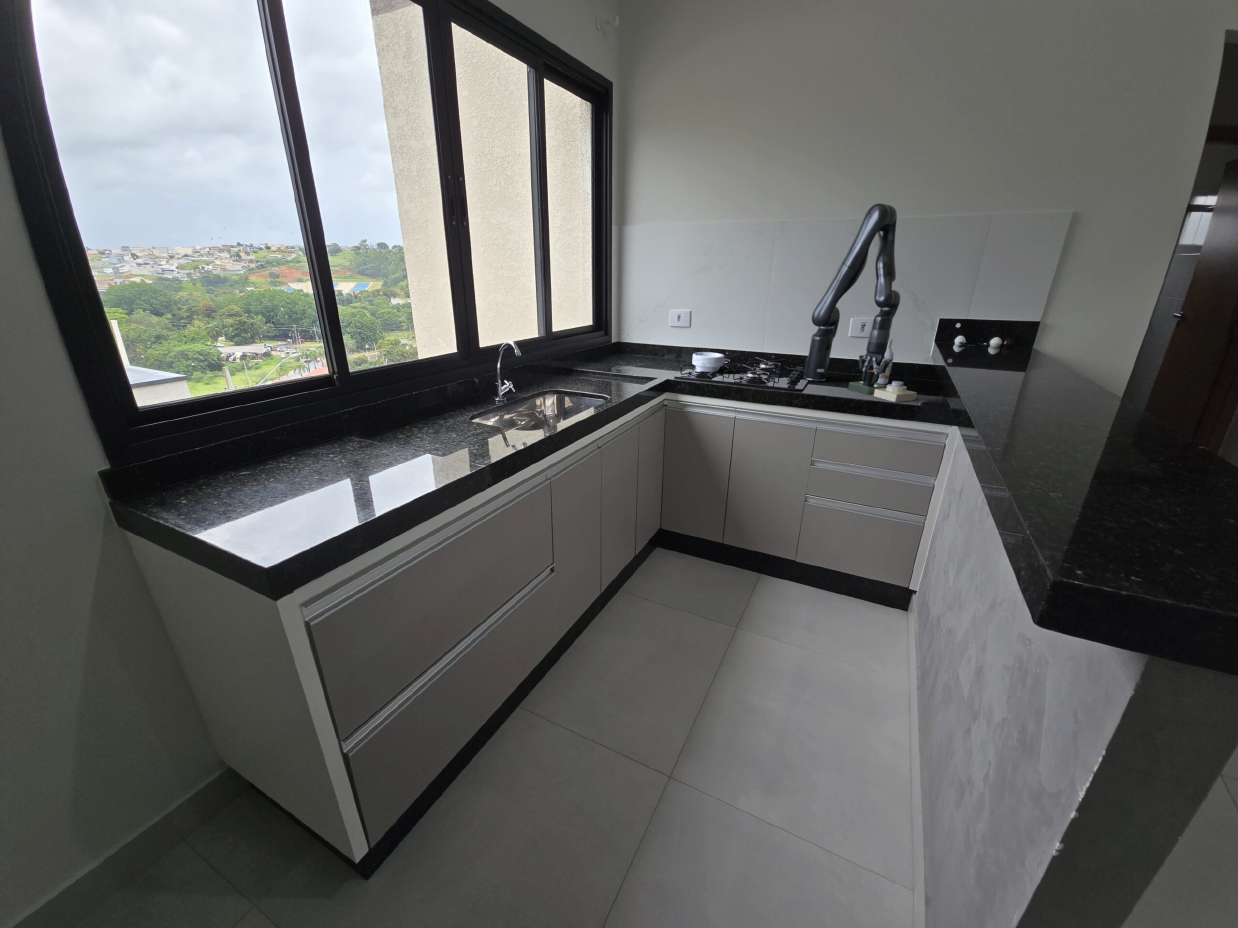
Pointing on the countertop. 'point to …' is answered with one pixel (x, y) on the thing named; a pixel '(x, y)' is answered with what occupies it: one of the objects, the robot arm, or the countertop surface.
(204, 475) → the countertop surface
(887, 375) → the bath foam
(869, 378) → the dark brown cylinder
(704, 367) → the paper bowls
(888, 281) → the robot arm
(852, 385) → the tap panel
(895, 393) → the cream push button box
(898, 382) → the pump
